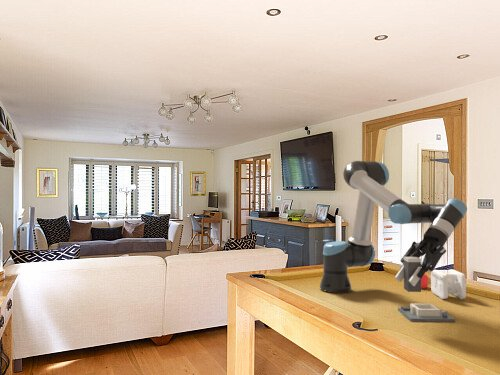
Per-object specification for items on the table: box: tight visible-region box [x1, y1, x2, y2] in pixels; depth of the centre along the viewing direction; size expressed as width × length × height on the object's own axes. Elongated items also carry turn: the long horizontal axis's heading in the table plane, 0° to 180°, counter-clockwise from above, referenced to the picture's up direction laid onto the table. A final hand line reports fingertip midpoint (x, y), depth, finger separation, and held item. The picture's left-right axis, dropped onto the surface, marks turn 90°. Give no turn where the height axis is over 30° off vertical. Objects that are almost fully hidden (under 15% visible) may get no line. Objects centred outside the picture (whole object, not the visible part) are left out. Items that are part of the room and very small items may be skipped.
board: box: [397, 303, 456, 323], centre depth 147 cm, size 16×14×4 cm
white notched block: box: [430, 268, 467, 300], centre depth 176 cm, size 15×11×12 cm
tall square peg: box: [403, 257, 422, 293], centre depth 136 cm, size 4×4×12 cm
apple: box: [421, 273, 430, 290], centre depth 194 cm, size 8×8×8 cm
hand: (404, 281), depth 135 cm, fingers closed on tall square peg, 6 cm apart
